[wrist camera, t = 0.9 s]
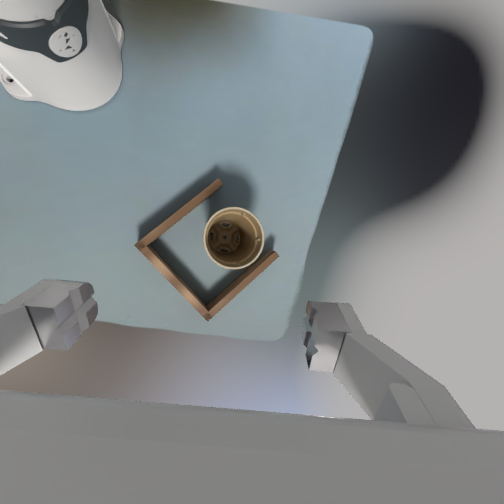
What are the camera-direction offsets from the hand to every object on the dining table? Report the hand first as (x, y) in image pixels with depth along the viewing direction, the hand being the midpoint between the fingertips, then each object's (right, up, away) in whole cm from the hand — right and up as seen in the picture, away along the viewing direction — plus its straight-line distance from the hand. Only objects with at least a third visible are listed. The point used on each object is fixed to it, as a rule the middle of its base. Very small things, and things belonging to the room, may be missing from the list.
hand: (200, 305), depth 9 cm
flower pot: (-3, +5, +35) cm, 36 cm away
